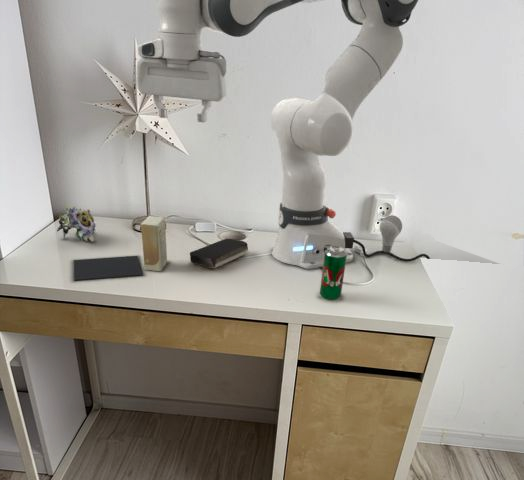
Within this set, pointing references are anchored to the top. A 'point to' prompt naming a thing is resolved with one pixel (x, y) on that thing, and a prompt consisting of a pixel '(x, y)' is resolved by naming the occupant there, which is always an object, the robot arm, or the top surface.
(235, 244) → the black sponge
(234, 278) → the top surface
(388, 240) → the lightbulb
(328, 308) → the top surface
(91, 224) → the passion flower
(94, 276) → the mat
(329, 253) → the soda can
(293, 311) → the top surface
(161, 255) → the cosmetic box
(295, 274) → the top surface
